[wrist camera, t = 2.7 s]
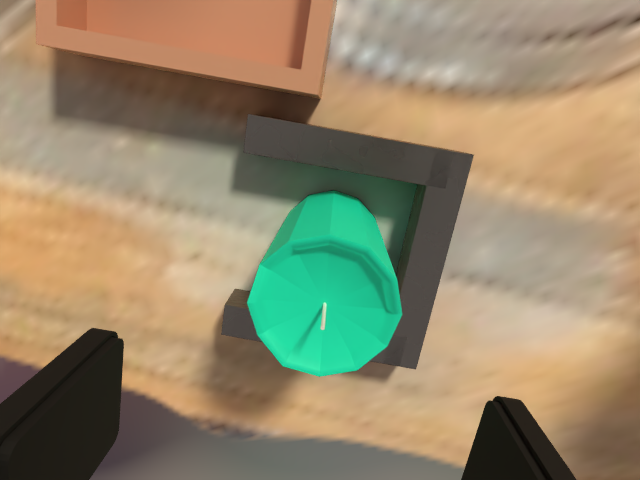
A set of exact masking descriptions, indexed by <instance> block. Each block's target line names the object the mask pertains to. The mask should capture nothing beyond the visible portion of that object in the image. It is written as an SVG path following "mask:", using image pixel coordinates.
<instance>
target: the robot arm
mask: <svg viewBox="0 0 640 480" xmlns="http://www.w3.org/2000/svg"><path fill="white" fill-rule="evenodd" d="M123 349H124V342H123V340H122V339H120V338H118V335H117V333H116V332H114V331H108V330H102V329H96V328H91V329H90V330H88V331H87V332H86V333H85V334H83V335H82V336H81V337H80V338H79V339H77V340H76V341H75V342H74V343H73V344H71V345H70V346H69V347H68V348H67V349H66V350H64V351H63V352H62V353H61V354H60V355H58V356H57V357H56V358H55V359H54V360H52V361H51V362H50V363H49V364H48V365H47V366H45V367H44V368H43V369H42V370H41V371H39V372H38V373H37V374H36V375H35V376H34V377H32V378H31V379H30V380H28V381H27V382H26V383H25V384H24V385H22V386H21V387H20V388H19V389H18V390H16V391H15V392H14V393H13V394H12V395H10V396H9V397H8V398H7V399H6V400H4V401H3V402H2V403H1V404H0V480H89V479H90V477H91V476H92V475H93V473H94V472H95V470H96V469H97V467H98V466H99V464H100V463H101V462H102V460H103V459H104V457H105V456H106V454H107V453H108V451H109V450H110V448H111V447H112V446H113V444H114V442H115V440H116V437H117V435H118V431H119V419H120V402H121V384H122V366H123ZM461 480H576V478H575V477H574V475H573V474H572V472H571V471H570V469H569V468H568V467H567V465H566V464H565V462H564V461H563V459H562V458H561V457H560V455H559V454H558V452H557V451H556V449H555V448H554V447H553V445H552V444H551V442H550V441H549V439H548V438H547V436H546V435H545V434H544V432H543V431H542V429H541V428H540V426H539V425H538V424H537V422H536V421H535V419H534V418H533V416H532V415H531V413H530V412H529V411H528V409H527V408H526V406H525V405H524V403H523V402H522V401H521V400H518V399H512V398H506V397H500V396H497V397H495V398H494V399H493V401H488V402H487V403H486V405H485V408H484V411H483V414H482V417H481V420H480V423H479V427H478V430H477V433H476V436H475V439H474V442H473V445H472V448H471V451H470V454H469V457H468V461H467V464H466V467H465V470H464V473H463V476H462V479H461Z"/></svg>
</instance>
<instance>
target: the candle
mask: <svg viewBox="0 0 640 480" xmlns="http://www.w3.org/2000/svg"><path fill="white" fill-rule="evenodd" d="M247 305H248V308H249V311H250V314H251V317H252V320H253V323H254V326H255V329H256V332H257V335H258V337H259V338H260V339H261V340H262V341H263V343H264V344H265V345H266V346H267V348H268V349H269V350H270V351H271V353H272V354H273V355H274V356H275V357H276V359H277V360H278V361H279V362H280V364H281V365H282V366H284V367H287V368H291V369H294V370H298V371H301V372H305V373H309V374H312V375H316V376H319V377H320V376H326V375H332V374H338V373H344V372H350V371H356V370H358V369H360V368H361V367H362V366H363V365H365V364H366V363H367V362H368V361H370V360H371V359H372V358H373V357H375V356H376V355H377V354H378V353H380V352H381V351H382V350H383V349H385V348H386V347H387V346H388V344H389V342H390V340H391V338H392V335H393V333H394V331H395V329H396V327H397V325H398V323H399V321H400V319H401V316H402V308H401V302H400V295H399V288H398V281H397V278H396V275H395V272H394V269H393V267H392V264H391V261H390V258H389V256H388V253H387V250H386V247H385V245H384V242H383V239H382V236H381V234H380V231H379V228H378V225H377V223H376V220H375V217H374V216H373V215H372V214H371V213H370V212H369V210H368V209H367V208H366V207H365V206H364V205H363V203H362V202H361V201H360V200H359V199H358V198H355V197H353V196H350V195H347V194H344V193H341V192H338V191H335V190H332V191H327V192H322V193H316V194H311V195H308V196H307V197H306V198H305V199H304V200H303V201H301V202H300V203H299V204H298V205H297V206H296V207H295V208H293V209H292V210H291V211H290V212H289V214H288V216H287V218H286V219H285V221H284V223H283V225H282V226H281V228H280V230H279V232H278V233H277V235H276V237H275V239H274V240H273V242H272V244H271V246H270V247H269V249H268V251H267V253H266V254H265V256H264V258H263V260H262V261H261V263H260V265H259V268H258V271H257V274H256V277H255V280H254V283H253V286H252V289H251V292H250V295H249V298H248V301H247Z"/></svg>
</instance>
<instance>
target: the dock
mask: <svg viewBox="0 0 640 480" xmlns="http://www.w3.org/2000/svg"><path fill="white" fill-rule="evenodd" d="M244 153H249V154H255V155H260V156H266V157H271V158H277V159H282V160H288V161H294V162H299V163H305V164H310V165H316V166H321V167H327V168H332V169H338V170H343V171H349V172H355V173H360V174H366V175H371V176H377V177H382V178H388V179H393V180H399V181H405V182H410V183H416V184H417V188H416V193H415V197H414V201H413V205H412V209H411V214H410V218H409V222H408V226H407V230H406V235H405V239H404V243H403V247H402V251H401V256H400V260H399V264H398V268H397V272H396V278H397V281H398V288H399V295H400V302H401V308H402V316H401V319H400V321H399V323H398V325H397V327H396V329H395V331H394V333H393V335H392V338H391V340H390V342H389V344H388V346H387V347H386V348H385V349H383V350H382V351H381V352H380V353H378V354H377V355H376V356H375V357H373V358H372V359H371V360H370V361H372V362H378V363H383V364H389V365H395V366H400V367H406V368H411V369H416V367H417V364H418V360H419V356H420V352H421V349H422V345H423V341H424V338H425V334H426V330H427V326H428V323H429V319H430V315H431V312H432V308H433V304H434V300H435V297H436V293H437V289H438V286H439V282H440V278H441V275H442V271H443V267H444V263H445V260H446V256H447V252H448V249H449V245H450V241H451V237H452V234H453V230H454V226H455V223H456V219H457V215H458V211H459V208H460V204H461V200H462V197H463V193H464V189H465V185H466V182H467V178H468V174H469V171H470V167H471V163H472V159H473V156H474V155H472V154H468V153H464V152H459V151H454V150H448V149H443V148H437V147H432V146H426V145H421V144H415V143H410V142H404V141H398V140H393V139H387V138H382V137H376V136H371V135H365V134H360V133H354V132H349V131H343V130H338V129H332V128H327V127H321V126H315V125H310V124H304V123H299V122H293V121H288V120H282V119H277V118H271V117H266V116H260V115H252V114H248V119H247V127H246V135H245V144H244ZM249 295H250V291H245V290H239V289H235V290H234V291H233V293H232V294H231V296H230V297H229V299H228V301H227V302H226V304H225V308H224V316H223V325H222V333H221V335H227V336H232V337H238V338H243V339H249V340H255V341H260V342H263V341H262V340H261V339H260V338H259V337H258V335H257V332H256V329H255V326H254V323H253V320H252V317H251V314H250V311H249V308H248V305H247V301H248V298H249Z"/></svg>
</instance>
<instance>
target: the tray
mask: <svg viewBox="0 0 640 480" xmlns="http://www.w3.org/2000/svg"><path fill="white" fill-rule="evenodd" d="M336 5H337V0H36V44H38V45H42V46H46V47H50V48H54V49H58V50H61V51H65V52H69V53H73V54H77V55H81V56H87V57H92V58H98V59H103V60H109V61H114V62H120V63H125V64H131V65H136V66H142V67H148V68H153V69H159V70H164V71H170V72H175V73H181V74H186V75H192V76H197V77H203V78H208V79H214V80H219V81H225V82H230V83H236V84H242V85H247V86H253V87H258V88H264V89H269V90H275V91H280V92H286V93H291V94H297V95H302V96H308V97H313V98H319V99H321V95H322V89H323V83H324V77H325V71H326V65H327V59H328V53H329V47H330V41H331V35H332V29H333V23H334V17H335V11H336Z"/></svg>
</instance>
